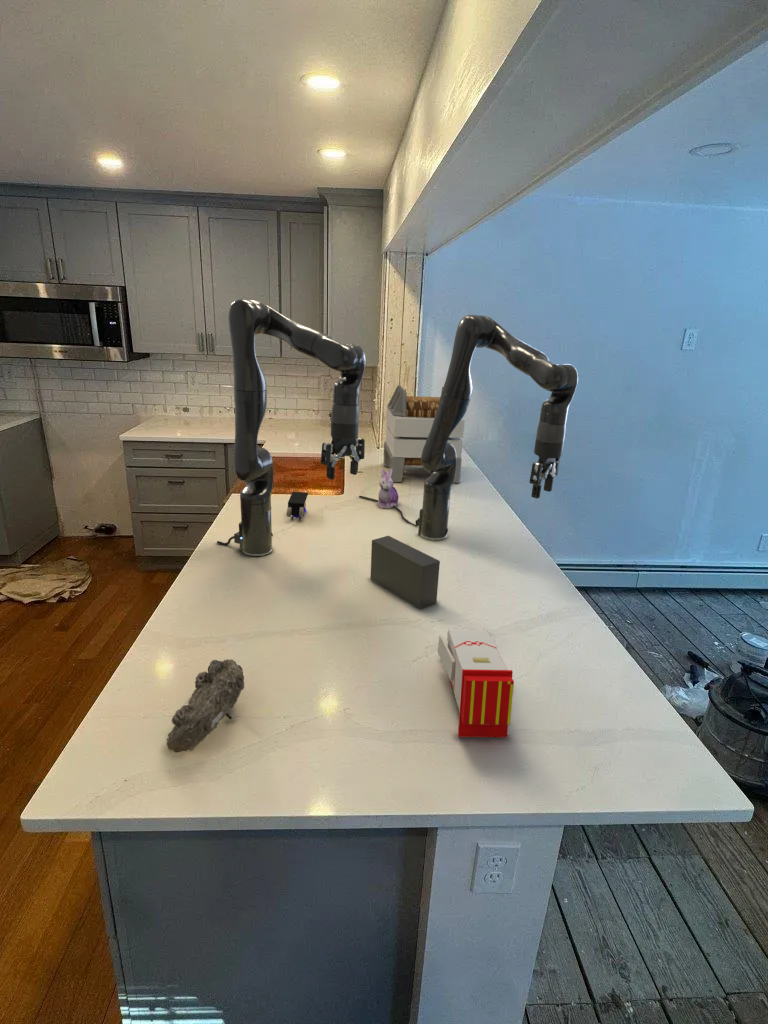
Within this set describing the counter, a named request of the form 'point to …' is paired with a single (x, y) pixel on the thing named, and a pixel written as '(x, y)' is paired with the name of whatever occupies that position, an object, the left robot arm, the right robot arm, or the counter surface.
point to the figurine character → (297, 505)
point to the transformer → (413, 432)
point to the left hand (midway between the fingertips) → (342, 476)
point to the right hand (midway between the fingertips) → (541, 494)
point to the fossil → (206, 705)
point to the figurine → (387, 491)
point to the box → (405, 571)
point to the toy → (478, 682)
